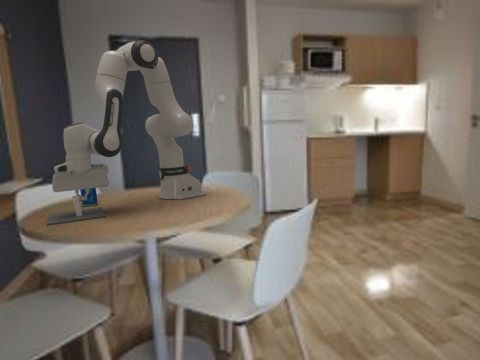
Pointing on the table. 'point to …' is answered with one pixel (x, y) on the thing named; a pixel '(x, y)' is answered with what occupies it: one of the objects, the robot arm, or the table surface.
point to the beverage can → (90, 197)
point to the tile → (77, 205)
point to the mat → (75, 216)
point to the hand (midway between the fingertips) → (83, 200)
